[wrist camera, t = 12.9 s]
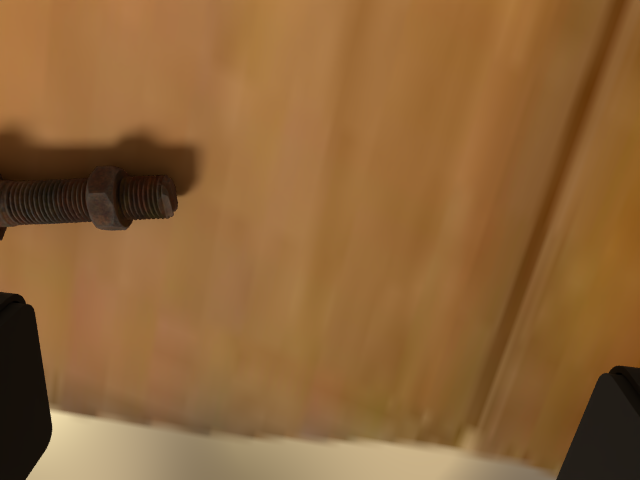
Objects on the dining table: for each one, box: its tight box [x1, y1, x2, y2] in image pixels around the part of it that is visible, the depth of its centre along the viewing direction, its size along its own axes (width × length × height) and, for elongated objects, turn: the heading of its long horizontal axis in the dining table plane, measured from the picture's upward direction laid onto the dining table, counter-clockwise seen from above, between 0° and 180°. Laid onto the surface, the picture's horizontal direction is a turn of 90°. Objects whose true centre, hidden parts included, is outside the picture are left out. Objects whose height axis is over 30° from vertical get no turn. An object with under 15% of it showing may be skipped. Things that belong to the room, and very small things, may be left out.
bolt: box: [0, 166, 178, 240], centre depth 38 cm, size 6×5×15 cm
